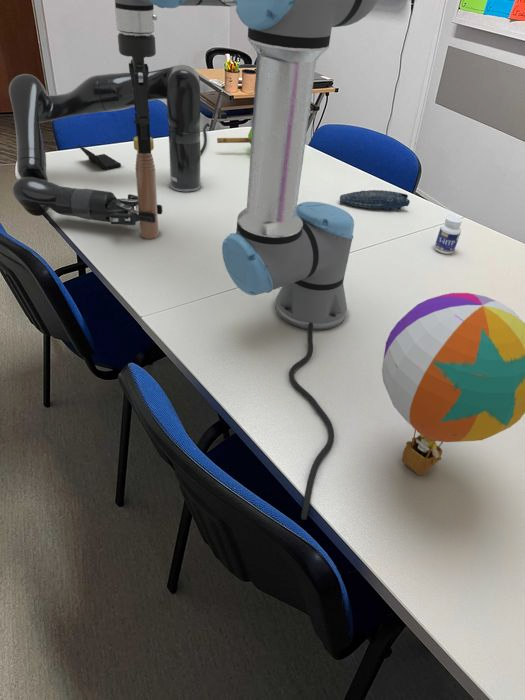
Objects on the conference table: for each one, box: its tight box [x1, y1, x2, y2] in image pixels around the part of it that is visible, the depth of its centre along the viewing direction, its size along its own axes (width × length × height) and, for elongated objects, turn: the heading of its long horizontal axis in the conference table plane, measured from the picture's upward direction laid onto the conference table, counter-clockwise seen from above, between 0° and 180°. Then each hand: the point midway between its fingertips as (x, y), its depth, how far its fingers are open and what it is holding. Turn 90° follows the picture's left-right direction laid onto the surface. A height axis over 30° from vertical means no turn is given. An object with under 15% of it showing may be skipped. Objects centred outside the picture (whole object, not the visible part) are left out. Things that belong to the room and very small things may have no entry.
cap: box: [133, 135, 155, 152], centre depth 120 cm, size 4×4×2 cm
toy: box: [381, 292, 525, 477], centre depth 72 cm, size 20×20×30 cm
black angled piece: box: [77, 144, 122, 170], centre depth 169 cm, size 12×7×10 cm
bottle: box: [134, 150, 160, 240], centre depth 127 cm, size 5×5×24 cm
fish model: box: [339, 189, 411, 211], centre depth 158 cm, size 7×21×5 cm, turn 84°
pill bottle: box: [434, 215, 463, 255], centre depth 137 cm, size 5×5×9 cm
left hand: (158, 214), depth 131 cm, fingers closed on bottle, 4 cm apart
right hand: (143, 147), depth 121 cm, fingers open, 7 cm apart
